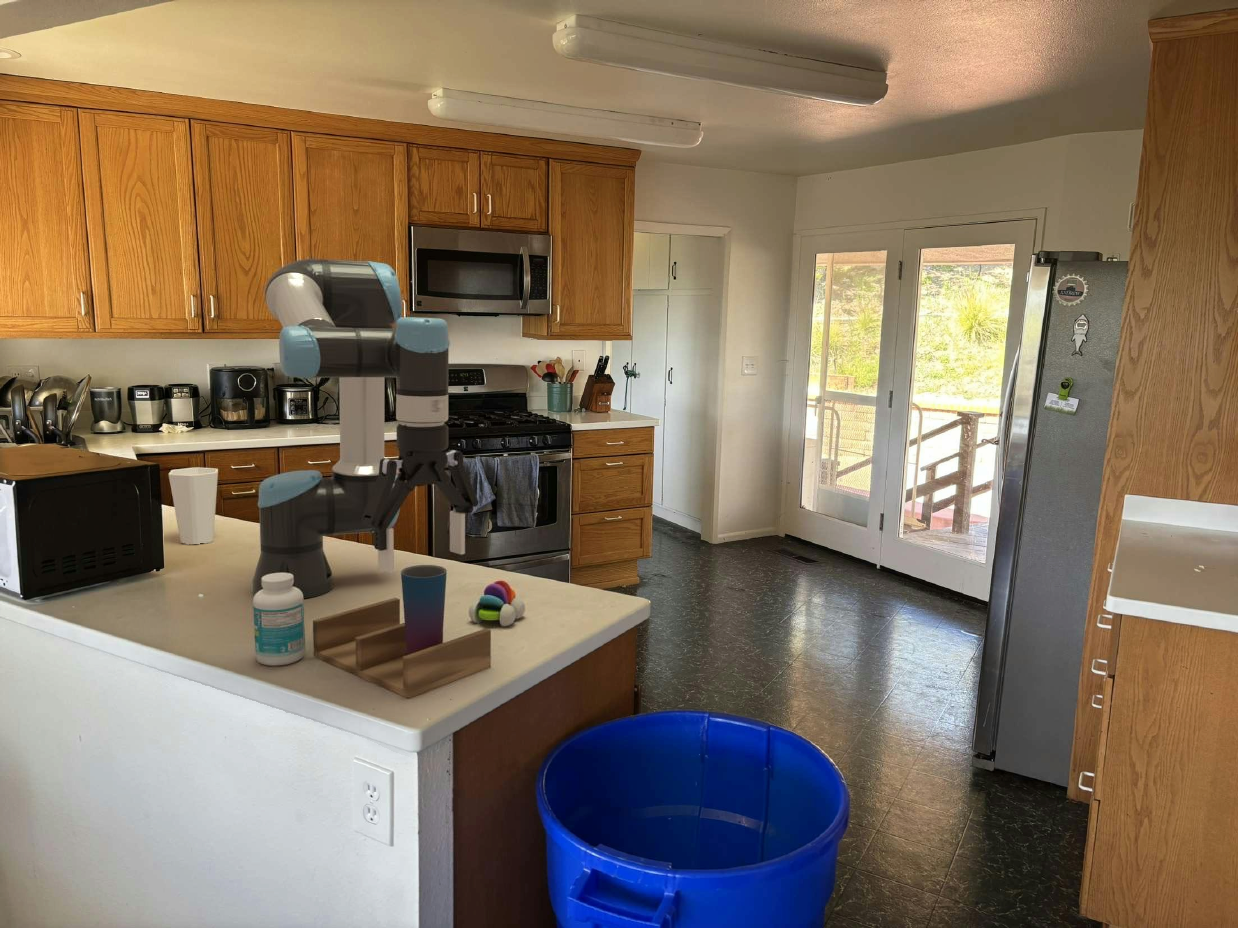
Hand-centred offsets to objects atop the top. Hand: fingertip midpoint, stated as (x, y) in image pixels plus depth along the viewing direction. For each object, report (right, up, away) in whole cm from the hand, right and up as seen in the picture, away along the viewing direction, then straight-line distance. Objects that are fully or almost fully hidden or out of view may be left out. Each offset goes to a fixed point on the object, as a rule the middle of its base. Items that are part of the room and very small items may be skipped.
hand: (423, 561), depth 132 cm
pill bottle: (-24, -16, +6) cm, 30 cm away
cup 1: (-71, -4, +75) cm, 104 cm away
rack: (-5, -17, +6) cm, 18 cm away
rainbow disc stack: (+8, -14, +26) cm, 31 cm away
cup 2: (0, -16, +2) cm, 17 cm away
